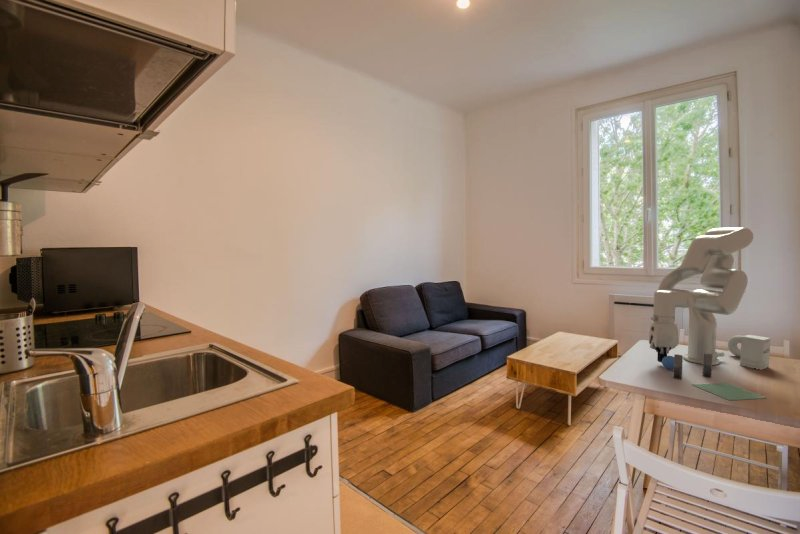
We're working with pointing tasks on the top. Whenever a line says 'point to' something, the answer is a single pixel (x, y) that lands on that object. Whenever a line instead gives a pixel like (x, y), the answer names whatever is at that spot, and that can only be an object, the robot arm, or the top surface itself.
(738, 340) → the donut
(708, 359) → the post
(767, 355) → the supplement box
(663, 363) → the ball
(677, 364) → the post
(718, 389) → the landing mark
